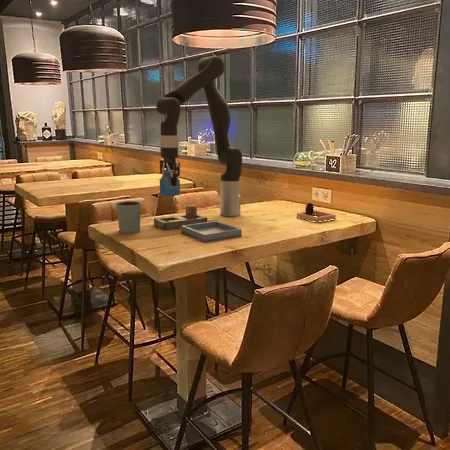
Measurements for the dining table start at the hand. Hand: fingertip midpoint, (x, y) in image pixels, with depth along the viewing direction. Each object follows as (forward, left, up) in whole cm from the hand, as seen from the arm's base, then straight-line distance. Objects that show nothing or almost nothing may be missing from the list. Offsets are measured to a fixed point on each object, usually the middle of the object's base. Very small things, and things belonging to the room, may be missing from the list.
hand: (169, 184), depth 200 cm
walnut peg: (-11, 0, -18) cm, 21 cm away
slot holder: (-5, 0, -18) cm, 19 cm away
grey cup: (+19, -1, -19) cm, 27 cm away
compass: (-68, +22, -19) cm, 74 cm away
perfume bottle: (0, 0, -5) cm, 5 cm away
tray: (-7, +22, -18) cm, 29 cm away
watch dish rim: (-67, +24, -18) cm, 73 cm away
